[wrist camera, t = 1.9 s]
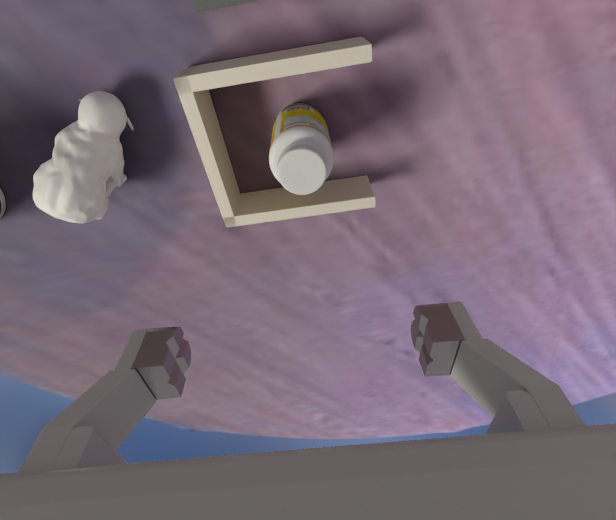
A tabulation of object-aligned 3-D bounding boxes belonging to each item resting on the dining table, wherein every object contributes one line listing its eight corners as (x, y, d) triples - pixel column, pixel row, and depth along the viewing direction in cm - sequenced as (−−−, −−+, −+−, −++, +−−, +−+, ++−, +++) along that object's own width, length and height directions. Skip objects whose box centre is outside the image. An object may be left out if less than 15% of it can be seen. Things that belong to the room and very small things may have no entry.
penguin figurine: (9, 210, 30) (34, 81, 25) (60, 176, 37) (88, 69, 32) (86, 241, 32) (124, 128, 27) (120, 203, 39) (155, 108, 34)
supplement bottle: (298, 166, 37) (299, 216, 29) (261, 128, 35) (251, 170, 27) (338, 132, 35) (351, 175, 27) (302, 88, 32) (304, 122, 24)
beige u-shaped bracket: (361, 36, 30) (371, 44, 26) (367, 184, 39) (375, 206, 35) (188, 66, 31) (172, 78, 27) (232, 204, 40) (226, 227, 36)
